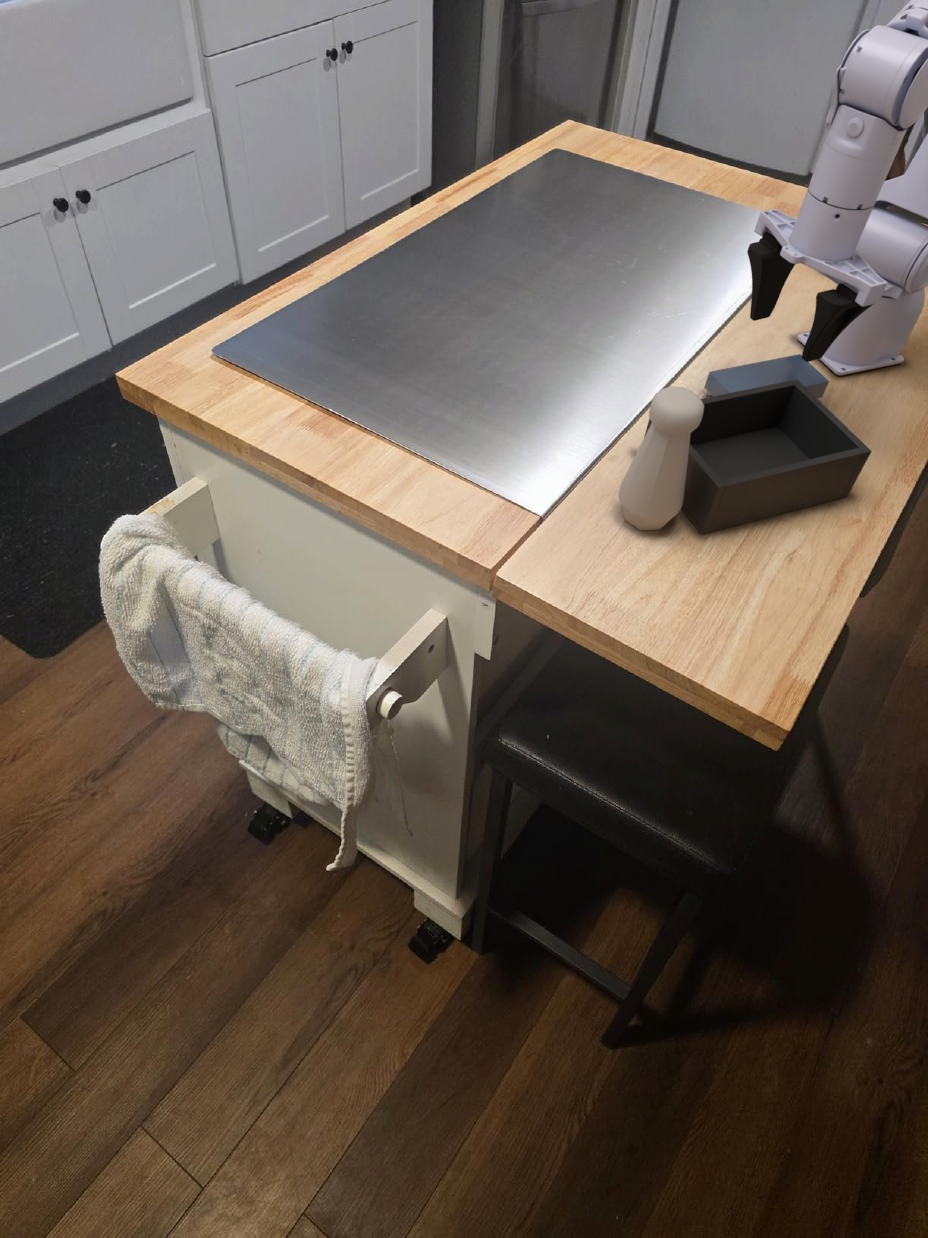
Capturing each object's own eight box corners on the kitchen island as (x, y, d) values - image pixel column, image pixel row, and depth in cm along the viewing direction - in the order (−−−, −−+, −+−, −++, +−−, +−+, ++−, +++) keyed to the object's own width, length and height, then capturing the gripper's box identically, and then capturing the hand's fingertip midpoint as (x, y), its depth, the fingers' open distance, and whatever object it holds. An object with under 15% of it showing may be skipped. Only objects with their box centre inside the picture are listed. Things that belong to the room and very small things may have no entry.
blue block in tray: (701, 395, 93) (709, 371, 91) (790, 377, 96) (800, 353, 94) (727, 424, 90) (736, 400, 88) (818, 404, 93) (829, 381, 91)
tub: (777, 424, 91) (796, 378, 86) (847, 496, 84) (872, 450, 80) (638, 455, 86) (651, 408, 82) (700, 534, 79) (718, 487, 75)
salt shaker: (685, 510, 81) (727, 392, 71) (662, 546, 78) (702, 428, 68) (628, 486, 83) (661, 367, 73) (603, 520, 79) (633, 401, 69)
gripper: (751, 166, 77) (706, 307, 88) (868, 240, 69) (804, 386, 80) (810, 156, 80) (760, 295, 90) (930, 227, 72) (860, 370, 82)
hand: (784, 337), depth 85 cm, fingers open, 7 cm apart
